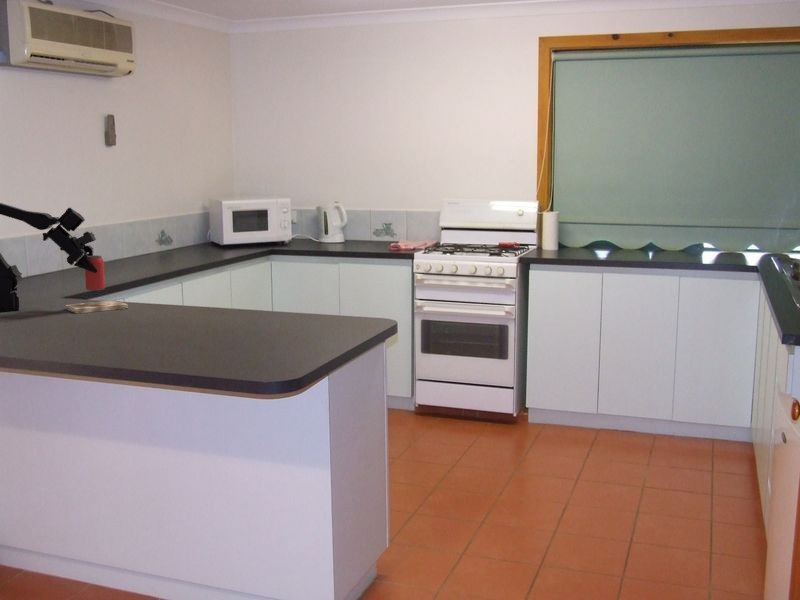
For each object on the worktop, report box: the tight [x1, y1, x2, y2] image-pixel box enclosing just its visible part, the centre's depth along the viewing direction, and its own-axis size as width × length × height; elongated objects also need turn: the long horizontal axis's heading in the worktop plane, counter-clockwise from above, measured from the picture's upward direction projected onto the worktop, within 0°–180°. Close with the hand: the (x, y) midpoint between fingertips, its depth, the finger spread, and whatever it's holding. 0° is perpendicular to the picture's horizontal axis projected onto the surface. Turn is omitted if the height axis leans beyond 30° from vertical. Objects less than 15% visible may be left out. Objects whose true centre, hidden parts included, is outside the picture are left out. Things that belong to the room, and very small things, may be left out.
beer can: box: [84, 255, 106, 291], centre depth 304 cm, size 7×7×12 cm
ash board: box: [64, 300, 129, 314], centre depth 303 cm, size 18×13×2 cm
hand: (98, 271), depth 304 cm, fingers closed on beer can, 7 cm apart
